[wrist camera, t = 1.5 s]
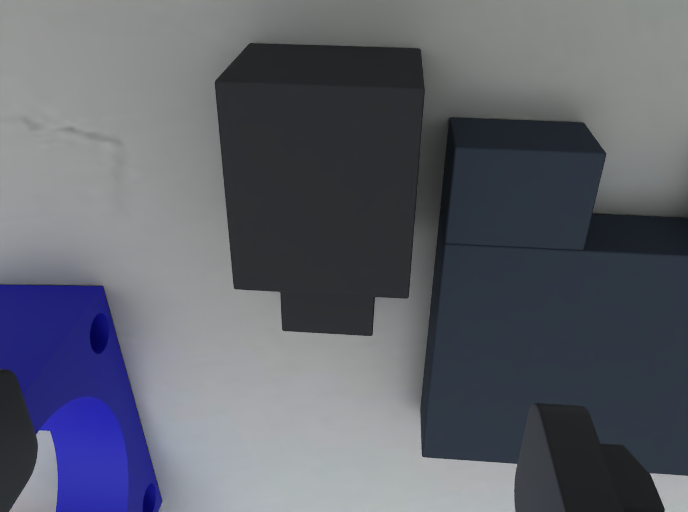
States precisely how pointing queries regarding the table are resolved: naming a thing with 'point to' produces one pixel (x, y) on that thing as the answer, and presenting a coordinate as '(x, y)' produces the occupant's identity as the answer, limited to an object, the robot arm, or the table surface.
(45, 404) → the blue half-round bracket
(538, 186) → the grey pad
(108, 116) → the table surface
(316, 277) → the black usb stick
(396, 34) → the table surface
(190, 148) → the table surface
